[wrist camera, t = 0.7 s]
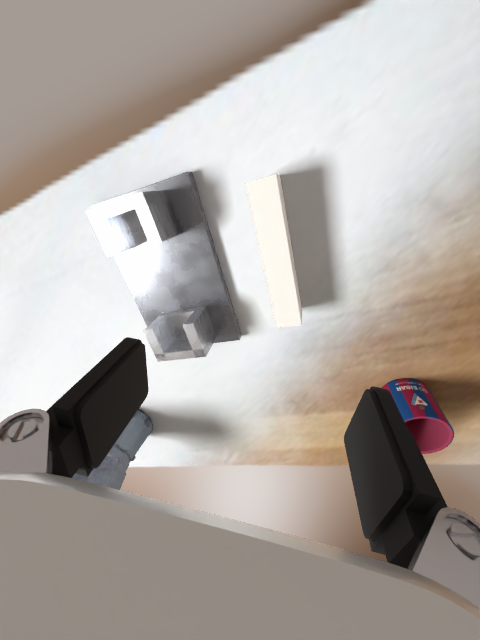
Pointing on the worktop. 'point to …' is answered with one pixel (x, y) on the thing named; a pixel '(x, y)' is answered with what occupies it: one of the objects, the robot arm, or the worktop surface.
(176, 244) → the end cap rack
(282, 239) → the slat
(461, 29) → the worktop surface
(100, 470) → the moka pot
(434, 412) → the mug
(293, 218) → the worktop surface
